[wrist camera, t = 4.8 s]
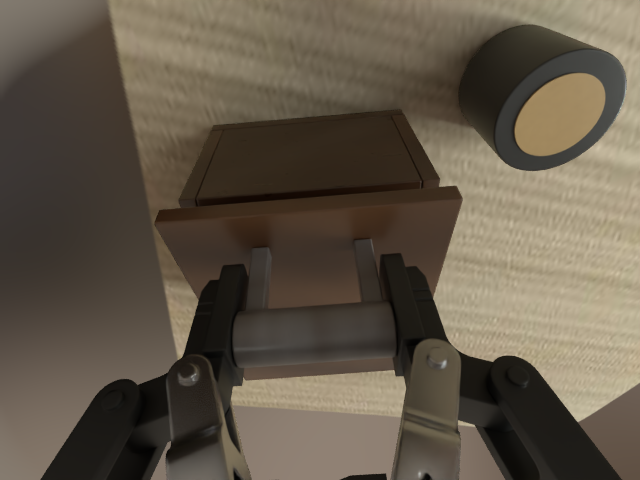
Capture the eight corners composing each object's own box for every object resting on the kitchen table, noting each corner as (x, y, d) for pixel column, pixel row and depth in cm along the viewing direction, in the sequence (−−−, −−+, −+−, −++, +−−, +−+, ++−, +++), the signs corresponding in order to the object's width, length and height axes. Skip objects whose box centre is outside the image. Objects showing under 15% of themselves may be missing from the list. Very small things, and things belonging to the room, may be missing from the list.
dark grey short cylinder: (469, 29, 18) (514, 55, 14) (580, 19, 18) (656, 43, 14) (450, 133, 22) (482, 176, 18) (542, 126, 21) (594, 167, 18)
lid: (158, 208, 13) (105, 343, 9) (456, 184, 13) (520, 313, 9) (246, 369, 24) (237, 460, 20) (409, 357, 24) (429, 448, 20)
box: (212, 125, 21) (177, 200, 15) (401, 109, 20) (440, 179, 15) (257, 283, 30) (246, 368, 24) (388, 273, 30) (409, 357, 24)
